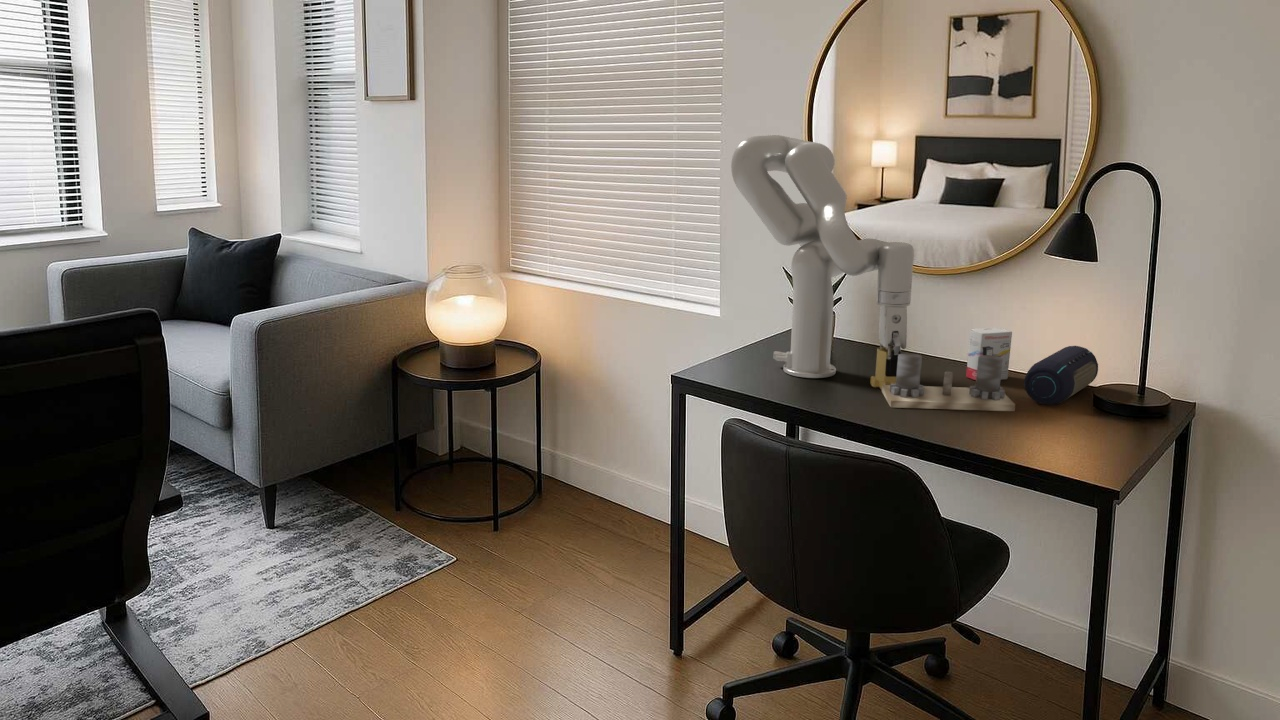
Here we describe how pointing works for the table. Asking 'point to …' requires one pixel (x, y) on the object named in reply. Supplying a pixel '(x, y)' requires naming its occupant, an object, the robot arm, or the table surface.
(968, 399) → the board
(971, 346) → the ink box
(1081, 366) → the portable speaker
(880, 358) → the gear
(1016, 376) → the table surface
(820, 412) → the table surface
